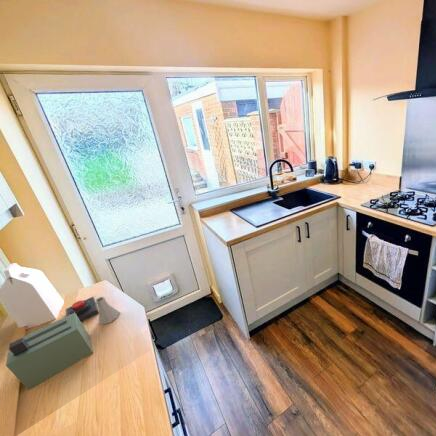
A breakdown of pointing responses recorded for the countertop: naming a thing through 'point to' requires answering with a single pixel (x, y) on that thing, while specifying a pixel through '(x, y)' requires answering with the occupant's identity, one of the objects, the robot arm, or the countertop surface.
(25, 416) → the countertop surface
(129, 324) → the countertop surface
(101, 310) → the flask
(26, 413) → the countertop surface
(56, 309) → the milk
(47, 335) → the toaster
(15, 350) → the toaster slider
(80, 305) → the power button
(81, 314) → the block
